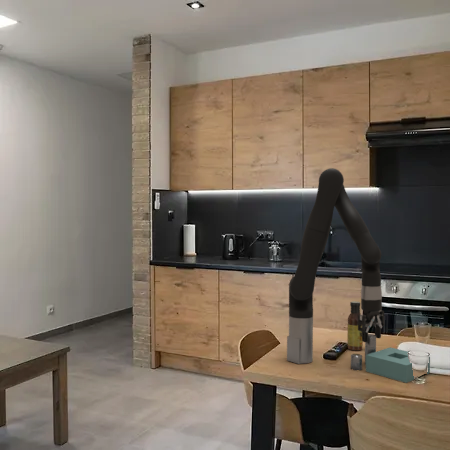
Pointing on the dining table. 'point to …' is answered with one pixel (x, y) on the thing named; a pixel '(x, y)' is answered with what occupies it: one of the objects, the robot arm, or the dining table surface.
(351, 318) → the sauce bottle
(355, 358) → the short pin
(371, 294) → the robot arm
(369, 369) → the hole block
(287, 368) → the dining table surface
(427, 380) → the dining table surface
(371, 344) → the long pin
